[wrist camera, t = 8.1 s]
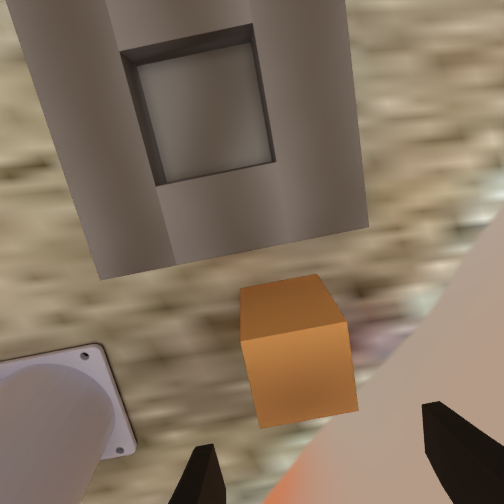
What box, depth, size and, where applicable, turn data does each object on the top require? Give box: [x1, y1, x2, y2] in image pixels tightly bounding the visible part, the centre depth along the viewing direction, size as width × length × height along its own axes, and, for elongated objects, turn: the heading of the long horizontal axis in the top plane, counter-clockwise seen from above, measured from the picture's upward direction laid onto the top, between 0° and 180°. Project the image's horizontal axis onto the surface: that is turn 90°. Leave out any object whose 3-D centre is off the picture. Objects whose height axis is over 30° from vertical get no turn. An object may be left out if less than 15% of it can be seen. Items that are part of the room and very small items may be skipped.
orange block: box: [240, 274, 358, 429], centre depth 18 cm, size 4×4×6 cm
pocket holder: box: [6, 0, 369, 280], centre depth 16 cm, size 13×13×3 cm
